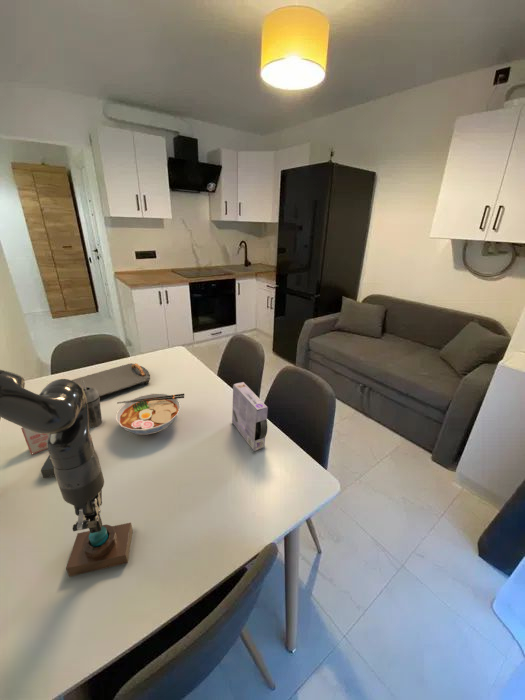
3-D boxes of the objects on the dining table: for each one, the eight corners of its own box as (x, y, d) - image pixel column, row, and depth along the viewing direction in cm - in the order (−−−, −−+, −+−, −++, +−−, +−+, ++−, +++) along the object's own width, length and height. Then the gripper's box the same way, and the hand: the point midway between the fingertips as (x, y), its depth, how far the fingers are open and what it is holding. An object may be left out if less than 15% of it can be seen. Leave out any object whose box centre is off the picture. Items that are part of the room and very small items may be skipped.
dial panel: (43, 477, 88) (40, 469, 86) (54, 456, 96) (52, 448, 94) (83, 471, 90) (81, 463, 89) (91, 450, 98) (89, 443, 97)
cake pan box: (267, 449, 101) (269, 407, 94) (255, 454, 99) (256, 411, 92) (242, 418, 116) (242, 380, 109) (231, 422, 114) (230, 383, 107)
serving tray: (138, 365, 155) (136, 355, 153) (157, 382, 140) (155, 371, 138) (52, 391, 131) (48, 379, 128) (64, 414, 116) (60, 401, 113)
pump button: (88, 549, 65) (86, 543, 64) (92, 533, 68) (91, 527, 67) (106, 545, 66) (104, 539, 65) (109, 530, 69) (108, 524, 68)
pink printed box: (29, 448, 98) (20, 425, 94) (53, 439, 102) (45, 416, 98) (31, 454, 96) (21, 430, 92) (55, 445, 100) (47, 422, 96)
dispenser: (69, 576, 64) (63, 562, 62) (80, 541, 71) (75, 527, 69) (127, 563, 67) (124, 549, 65) (132, 530, 74) (129, 516, 72)
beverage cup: (108, 416, 115) (98, 372, 107) (102, 428, 109) (91, 382, 100) (88, 418, 114) (76, 373, 106) (81, 430, 107) (68, 384, 99)
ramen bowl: (108, 451, 98) (103, 431, 95) (123, 411, 119) (120, 394, 115) (184, 442, 103) (182, 423, 100) (186, 405, 124) (184, 389, 120)
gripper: (91, 497, 54) (108, 554, 61) (107, 447, 65) (120, 500, 72) (44, 505, 52) (68, 563, 59) (69, 452, 63) (86, 506, 71)
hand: (96, 528), depth 66 cm, fingers closed
